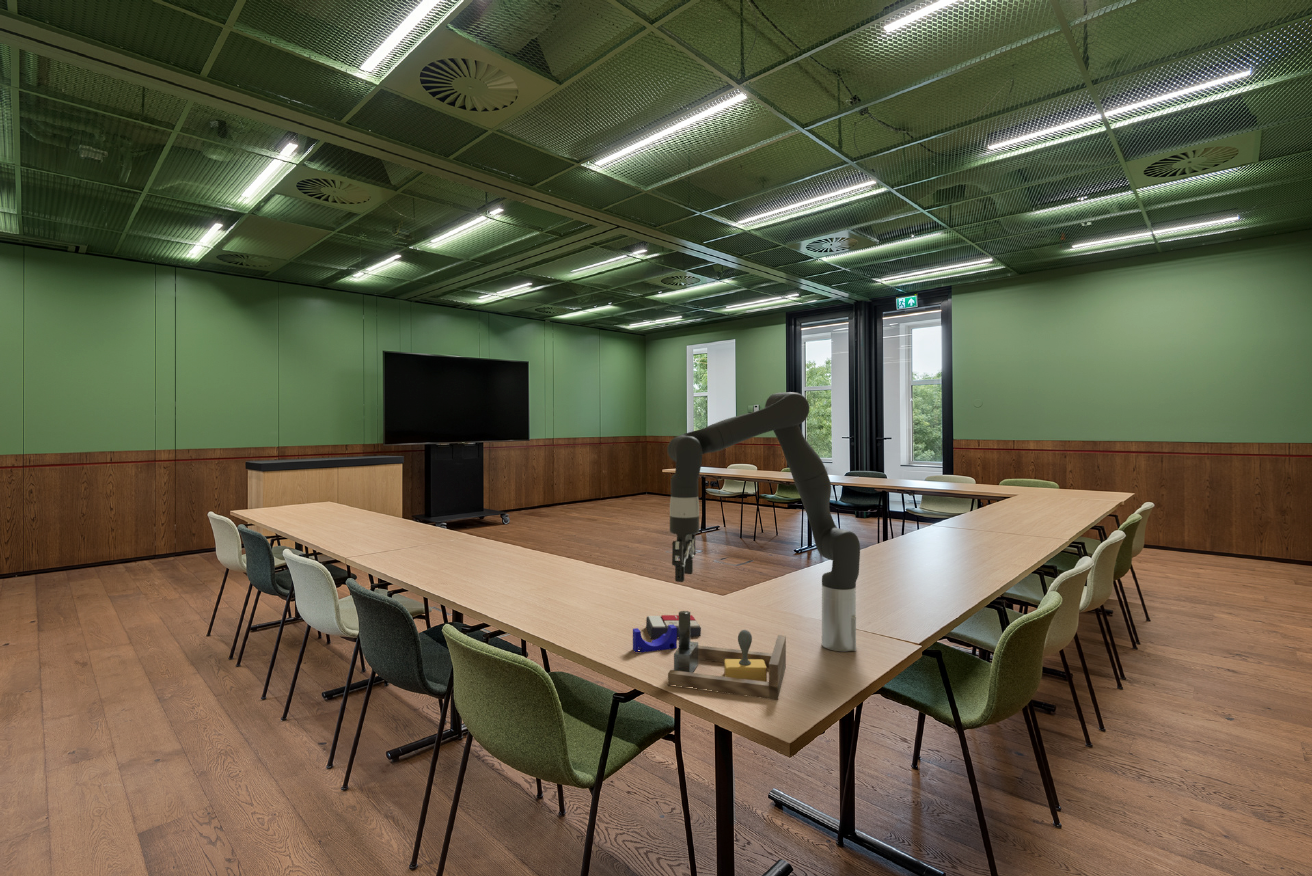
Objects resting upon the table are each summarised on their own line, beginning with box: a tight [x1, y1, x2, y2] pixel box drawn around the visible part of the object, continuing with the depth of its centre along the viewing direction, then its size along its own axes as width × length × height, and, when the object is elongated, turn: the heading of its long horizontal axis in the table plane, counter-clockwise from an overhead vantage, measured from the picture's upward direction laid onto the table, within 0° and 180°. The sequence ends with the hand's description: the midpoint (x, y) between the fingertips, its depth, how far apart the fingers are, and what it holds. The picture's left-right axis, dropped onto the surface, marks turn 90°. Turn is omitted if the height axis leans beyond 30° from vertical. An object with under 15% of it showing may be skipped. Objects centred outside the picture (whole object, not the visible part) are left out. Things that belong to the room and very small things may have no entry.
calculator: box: [645, 614, 702, 640], centre depth 182 cm, size 11×4×15 cm
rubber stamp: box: [723, 629, 768, 682], centre depth 148 cm, size 10×6×12 cm, turn 87°
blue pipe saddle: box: [632, 624, 678, 653], centre depth 168 cm, size 12×4×6 cm, turn 107°
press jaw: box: [673, 610, 699, 673], centre depth 153 cm, size 4×9×14 cm, turn 163°
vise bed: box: [667, 634, 787, 701], centre depth 149 cm, size 26×20×8 cm
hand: (684, 577), depth 152 cm, fingers open, 8 cm apart
